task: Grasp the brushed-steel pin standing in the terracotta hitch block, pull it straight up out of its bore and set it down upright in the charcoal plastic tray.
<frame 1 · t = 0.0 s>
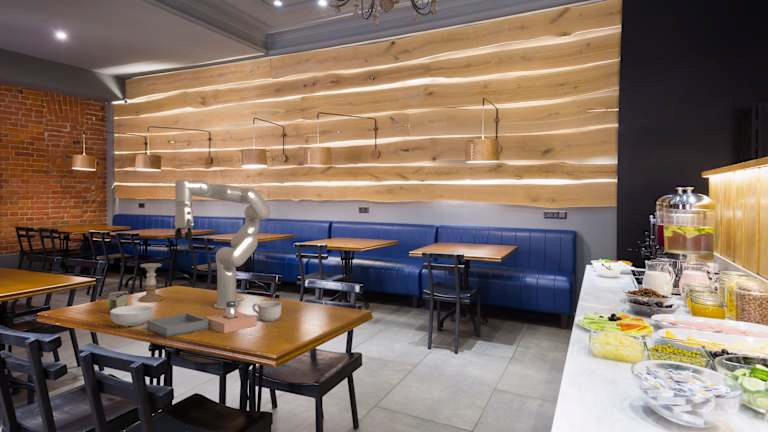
hand: (183, 239, 220), 37 cm above the table, tool pointing down, fingers open, 9 cm apart
candle holder: (150, 300, 252), on the table
food container: (115, 313, 220), on the table
pin: (230, 314, 201), in the hitch block
hitch block: (230, 326, 201), on the table
tray: (178, 329, 195), on the table
cereal bowl: (132, 325, 201), on the table
teacup: (266, 320, 214), on the table
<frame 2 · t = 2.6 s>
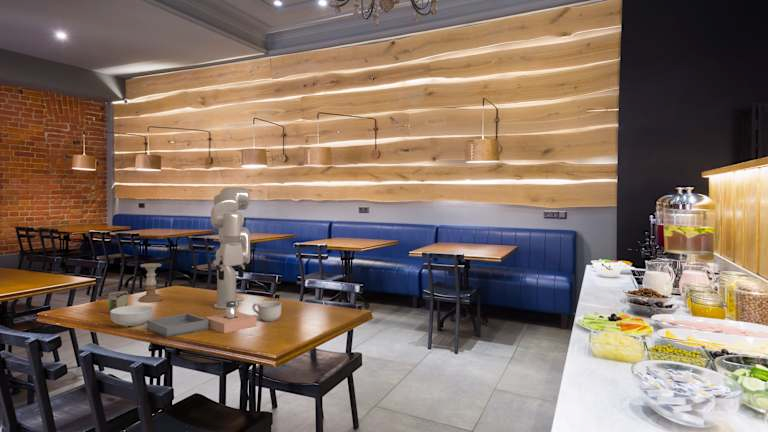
hand: (231, 278, 200), 21 cm above the table, tool pointing down, fingers open, 9 cm apart
nothing on the table moved.
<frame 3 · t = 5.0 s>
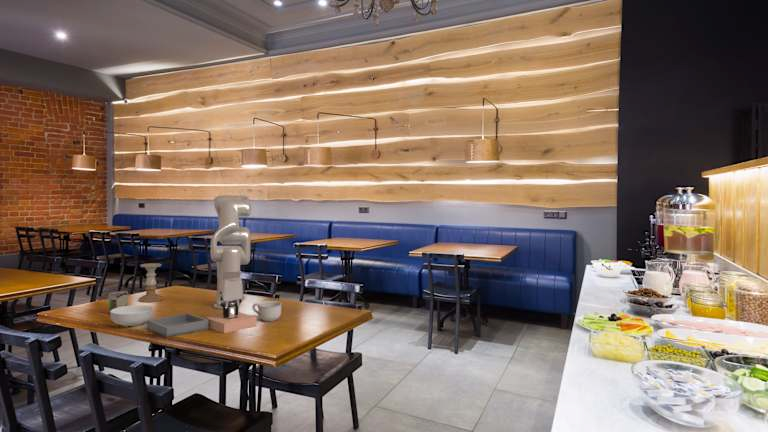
hand: (230, 315, 201), 5 cm above the table, tool pointing down, fingers closed on pin, 4 cm apart
pin: (230, 314, 201), in the hitch block, touching gripper
everything else where it was.
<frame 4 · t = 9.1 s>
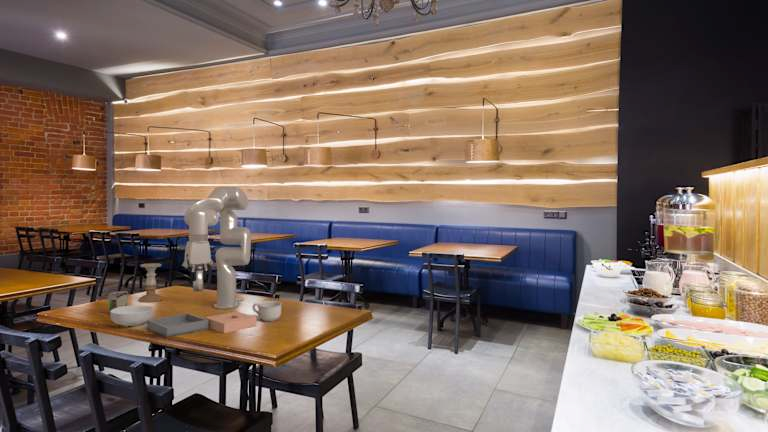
hand: (198, 279, 196), 21 cm above the table, tool pointing down, fingers closed on pin, 4 cm apart
pin: (198, 278, 196), point 22 cm above the table, touching gripper
everything else where it was.
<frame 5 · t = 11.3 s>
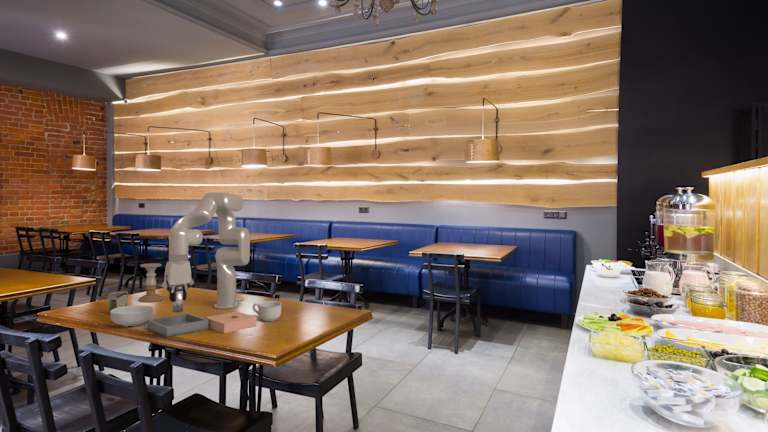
hand: (178, 300, 194), 13 cm above the table, tool pointing down, fingers closed on pin, 4 cm apart
pin: (178, 298, 194), point 13 cm above the table, touching gripper
everything else where it was.
when the fingers open (7 cm above the table, at t = 13.1 s): pin drops 1 cm, resting on tray.
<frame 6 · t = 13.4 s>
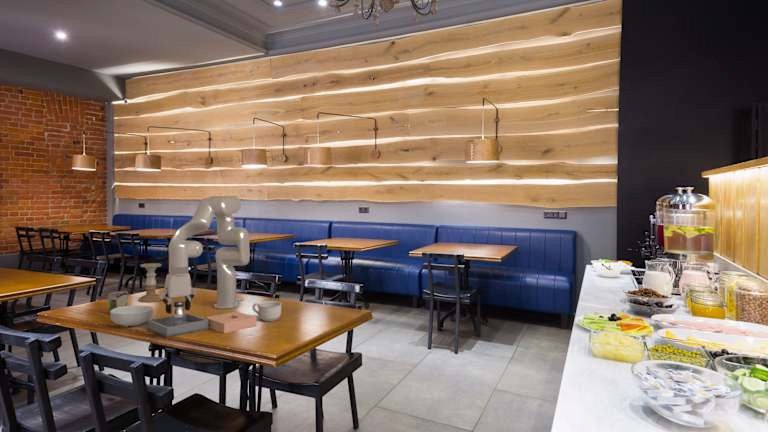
hand: (178, 311, 195), 8 cm above the table, tool pointing down, fingers open, 7 cm apart
pin: (178, 314, 195), in the tray, point 6 cm above the table
everything else where it was.
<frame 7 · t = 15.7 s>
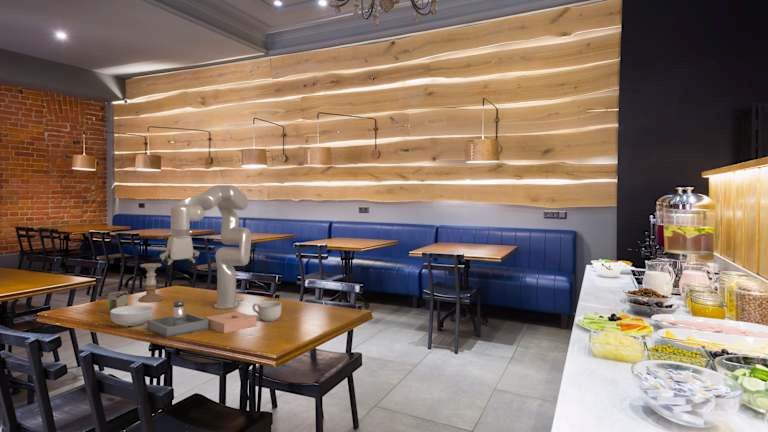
hand: (180, 272, 197), 24 cm above the table, tool pointing down, fingers open, 9 cm apart
nothing on the table moved.
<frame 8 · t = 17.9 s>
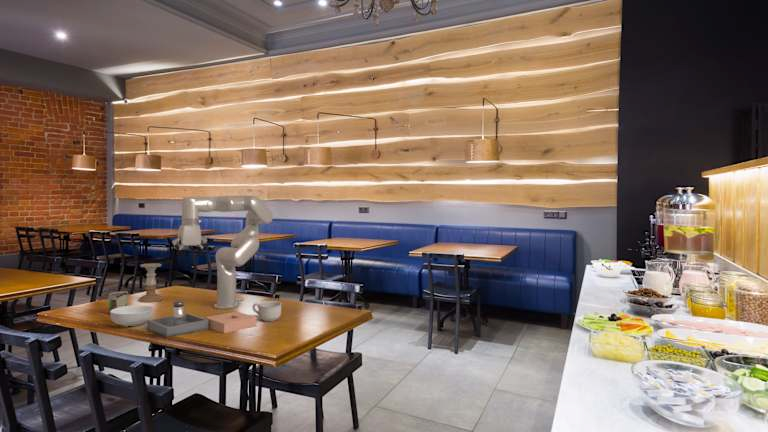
hand: (189, 257, 220), 28 cm above the table, tool pointing down, fingers open, 9 cm apart
nothing on the table moved.
at the end: pin inside the target area on the tray (0.2 cm from its centre), point 6.5 cm above the tray's base; pin tilted 0°; the gripper is holding nothing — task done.
